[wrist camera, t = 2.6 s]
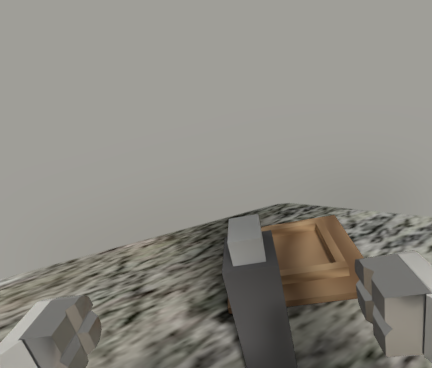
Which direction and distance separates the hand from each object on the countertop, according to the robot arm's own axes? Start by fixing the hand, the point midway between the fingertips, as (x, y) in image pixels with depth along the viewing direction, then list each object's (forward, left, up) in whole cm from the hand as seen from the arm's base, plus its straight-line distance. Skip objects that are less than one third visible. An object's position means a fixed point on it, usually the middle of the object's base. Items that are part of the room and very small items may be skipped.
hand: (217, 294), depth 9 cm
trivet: (-4, -25, -18) cm, 31 cm away
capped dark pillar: (0, -12, -18) cm, 21 cm away
